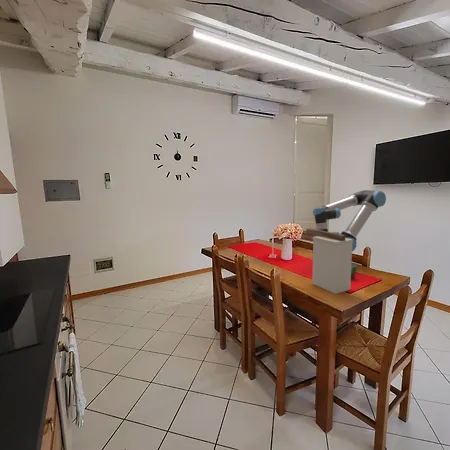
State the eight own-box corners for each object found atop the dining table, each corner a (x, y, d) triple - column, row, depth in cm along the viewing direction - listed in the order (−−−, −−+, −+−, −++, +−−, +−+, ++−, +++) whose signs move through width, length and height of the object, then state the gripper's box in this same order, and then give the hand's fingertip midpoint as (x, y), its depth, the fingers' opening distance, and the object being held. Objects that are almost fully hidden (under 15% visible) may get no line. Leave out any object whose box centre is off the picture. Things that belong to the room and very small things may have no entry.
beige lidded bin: (326, 280, 172) (328, 234, 168) (350, 289, 156) (353, 239, 152) (311, 283, 167) (312, 236, 162) (334, 294, 151) (336, 242, 146)
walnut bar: (309, 232, 175) (309, 228, 175) (345, 240, 150) (345, 235, 150) (306, 233, 174) (306, 228, 174) (341, 240, 149) (341, 235, 149)
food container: (334, 275, 180) (334, 261, 178) (339, 273, 183) (339, 259, 182) (351, 280, 170) (352, 265, 169) (356, 278, 174) (357, 263, 172)
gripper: (305, 230, 199) (309, 258, 199) (331, 228, 176) (336, 260, 176) (313, 229, 202) (317, 256, 202) (339, 227, 179) (344, 258, 179)
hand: (325, 258), depth 189 cm, fingers open, 13 cm apart
